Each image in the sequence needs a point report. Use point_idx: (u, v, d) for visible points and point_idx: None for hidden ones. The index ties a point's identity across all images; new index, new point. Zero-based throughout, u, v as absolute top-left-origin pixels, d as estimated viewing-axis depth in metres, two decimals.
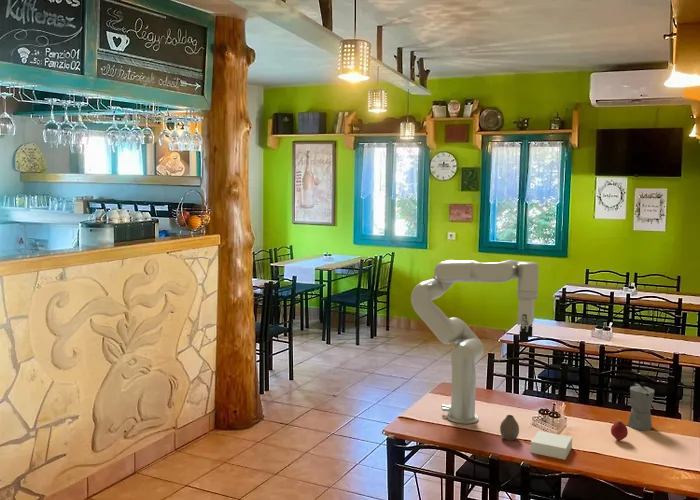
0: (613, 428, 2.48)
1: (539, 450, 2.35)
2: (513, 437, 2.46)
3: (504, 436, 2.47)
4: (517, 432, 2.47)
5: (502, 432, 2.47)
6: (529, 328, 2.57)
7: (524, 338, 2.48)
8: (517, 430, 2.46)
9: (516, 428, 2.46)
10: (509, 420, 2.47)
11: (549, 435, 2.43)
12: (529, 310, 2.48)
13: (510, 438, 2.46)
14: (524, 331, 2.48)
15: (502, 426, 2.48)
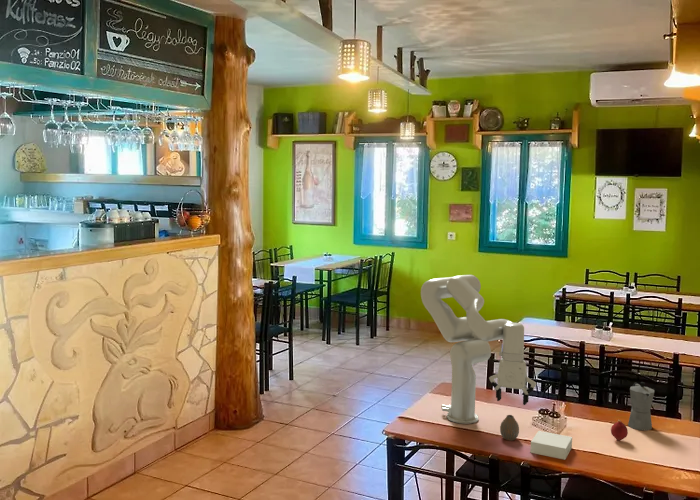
0: (613, 428, 2.48)
1: (539, 450, 2.35)
2: (513, 437, 2.46)
3: (504, 436, 2.47)
4: (517, 433, 2.47)
5: (502, 432, 2.47)
6: (500, 391, 2.50)
7: None
8: (517, 430, 2.46)
9: (516, 428, 2.46)
10: (509, 420, 2.47)
11: (549, 435, 2.43)
12: None
13: (510, 438, 2.46)
14: (529, 392, 2.44)
15: (502, 426, 2.48)
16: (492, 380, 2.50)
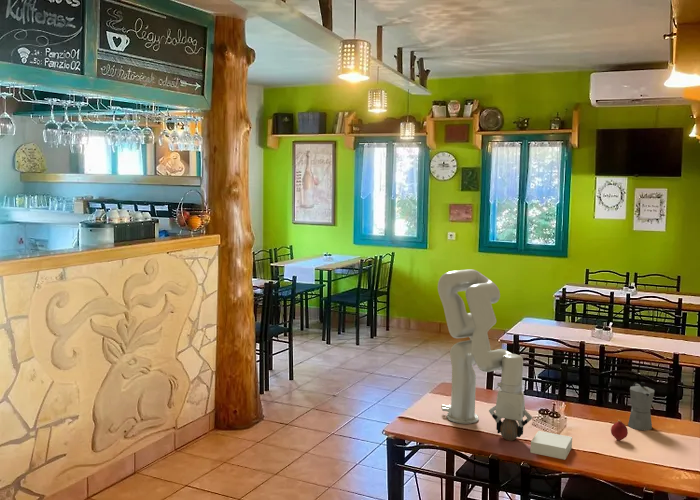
0: (613, 428, 2.48)
1: (539, 450, 2.35)
2: (513, 437, 2.46)
3: (504, 436, 2.47)
4: (517, 433, 2.47)
5: (502, 432, 2.47)
6: None
7: (522, 432, 2.47)
8: (517, 430, 2.46)
9: (516, 428, 2.46)
10: (509, 420, 2.47)
11: (549, 435, 2.43)
12: None
13: (510, 438, 2.46)
14: (523, 425, 2.47)
15: (502, 426, 2.48)
16: (492, 412, 2.51)
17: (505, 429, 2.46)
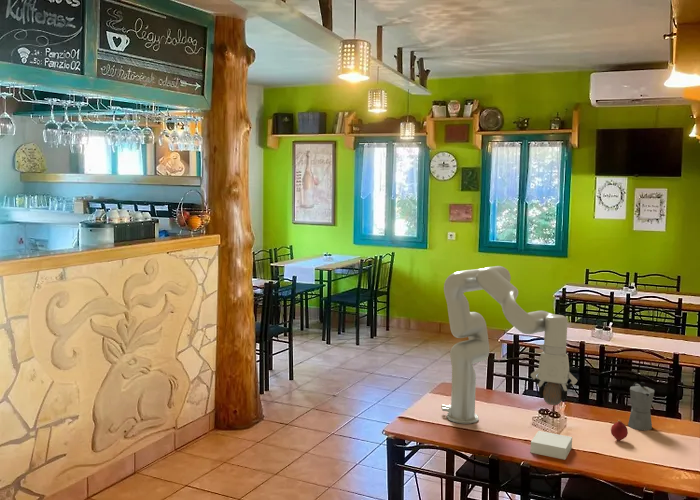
0: (613, 428, 2.48)
1: (539, 450, 2.35)
2: (557, 401, 2.34)
3: (547, 400, 2.35)
4: (561, 397, 2.35)
5: (545, 396, 2.36)
6: (543, 387, 2.39)
7: None
8: (561, 394, 2.35)
9: (560, 392, 2.34)
10: (552, 384, 2.35)
11: (549, 435, 2.43)
12: None
13: (554, 402, 2.35)
14: None
15: (545, 390, 2.36)
16: (534, 376, 2.39)
17: (548, 393, 2.35)
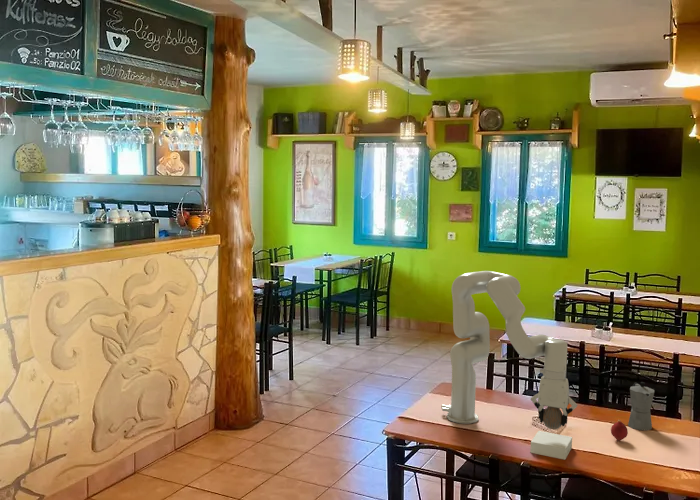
0: (613, 428, 2.48)
1: (539, 450, 2.35)
2: (557, 426, 2.35)
3: (547, 425, 2.36)
4: (561, 421, 2.35)
5: (545, 421, 2.36)
6: (543, 412, 2.40)
7: None
8: (561, 419, 2.35)
9: (560, 416, 2.35)
10: (552, 408, 2.36)
11: (549, 435, 2.43)
12: None
13: (554, 427, 2.35)
14: (568, 413, 2.35)
15: (545, 414, 2.36)
16: (534, 401, 2.40)
17: (549, 418, 2.35)
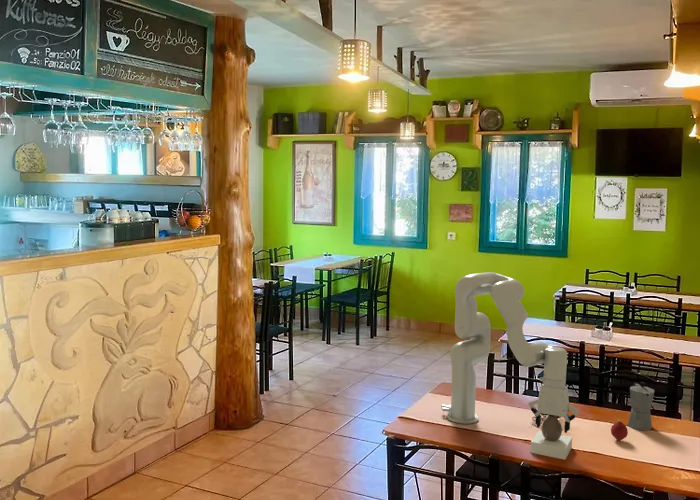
0: (613, 428, 2.48)
1: (539, 450, 2.35)
2: (556, 437, 2.36)
3: (546, 436, 2.37)
4: (560, 433, 2.36)
5: (544, 432, 2.37)
6: (540, 417, 2.41)
7: (569, 427, 2.36)
8: (560, 430, 2.36)
9: (559, 428, 2.36)
10: (551, 420, 2.36)
11: None
12: None
13: (553, 439, 2.36)
14: (570, 420, 2.35)
15: (544, 426, 2.37)
16: (532, 406, 2.41)
17: (548, 429, 2.36)
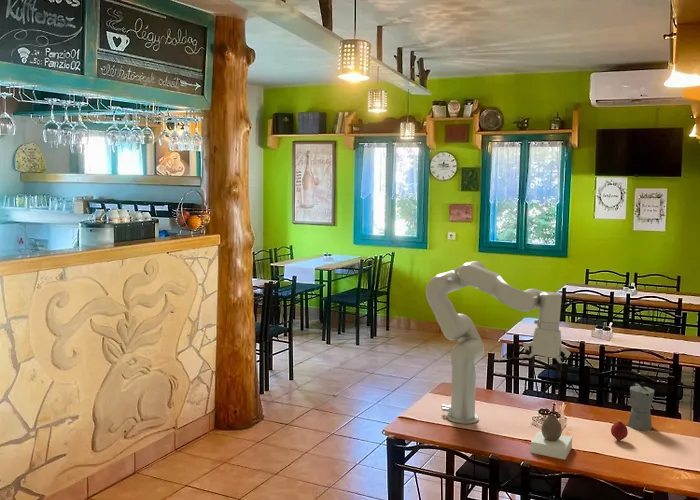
0: (613, 428, 2.48)
1: (539, 450, 2.35)
2: (556, 438, 2.36)
3: (546, 437, 2.37)
4: (560, 433, 2.36)
5: (544, 432, 2.37)
6: (534, 359, 2.52)
7: (561, 368, 2.47)
8: (560, 430, 2.36)
9: (559, 428, 2.36)
10: (551, 420, 2.37)
11: None
12: None
13: (553, 439, 2.36)
14: (562, 361, 2.47)
15: (544, 426, 2.37)
16: (526, 348, 2.52)
17: (547, 429, 2.36)
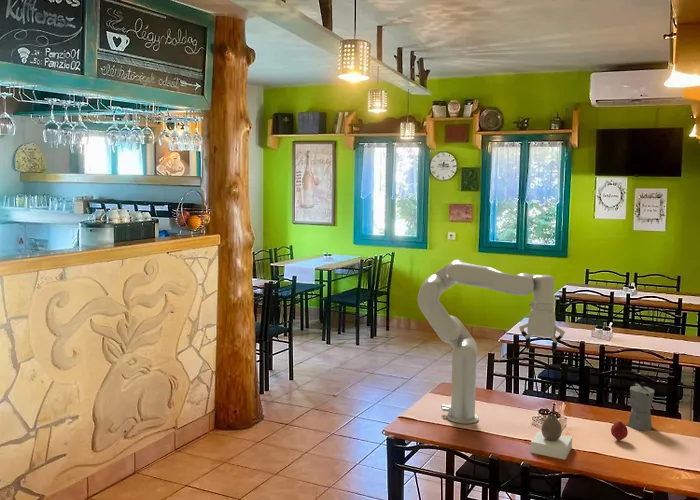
0: (613, 428, 2.48)
1: (539, 450, 2.35)
2: (556, 438, 2.36)
3: (546, 437, 2.37)
4: (560, 433, 2.36)
5: (544, 432, 2.37)
6: (530, 340, 2.62)
7: (556, 348, 2.57)
8: (560, 430, 2.36)
9: (559, 428, 2.36)
10: (551, 420, 2.37)
11: None
12: None
13: (553, 439, 2.36)
14: None
15: (544, 426, 2.37)
16: (522, 329, 2.62)
17: (547, 429, 2.36)
